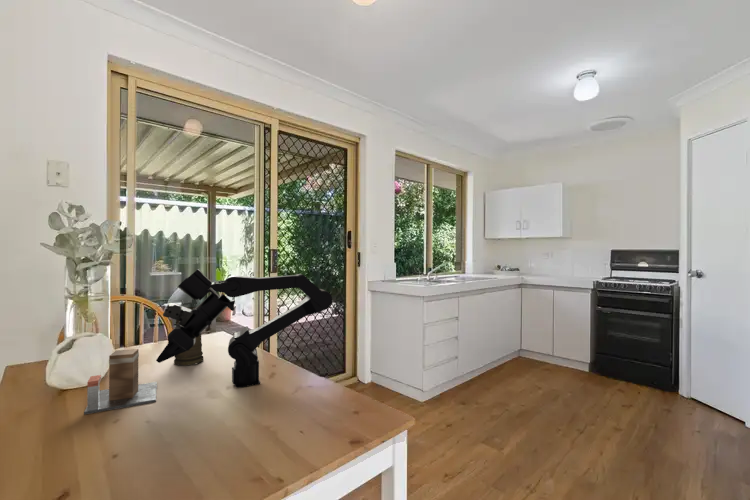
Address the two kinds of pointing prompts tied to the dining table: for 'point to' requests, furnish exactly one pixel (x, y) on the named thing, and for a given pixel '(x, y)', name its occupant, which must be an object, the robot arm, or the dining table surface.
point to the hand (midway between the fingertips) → (161, 356)
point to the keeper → (101, 402)
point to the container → (190, 352)
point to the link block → (123, 374)
